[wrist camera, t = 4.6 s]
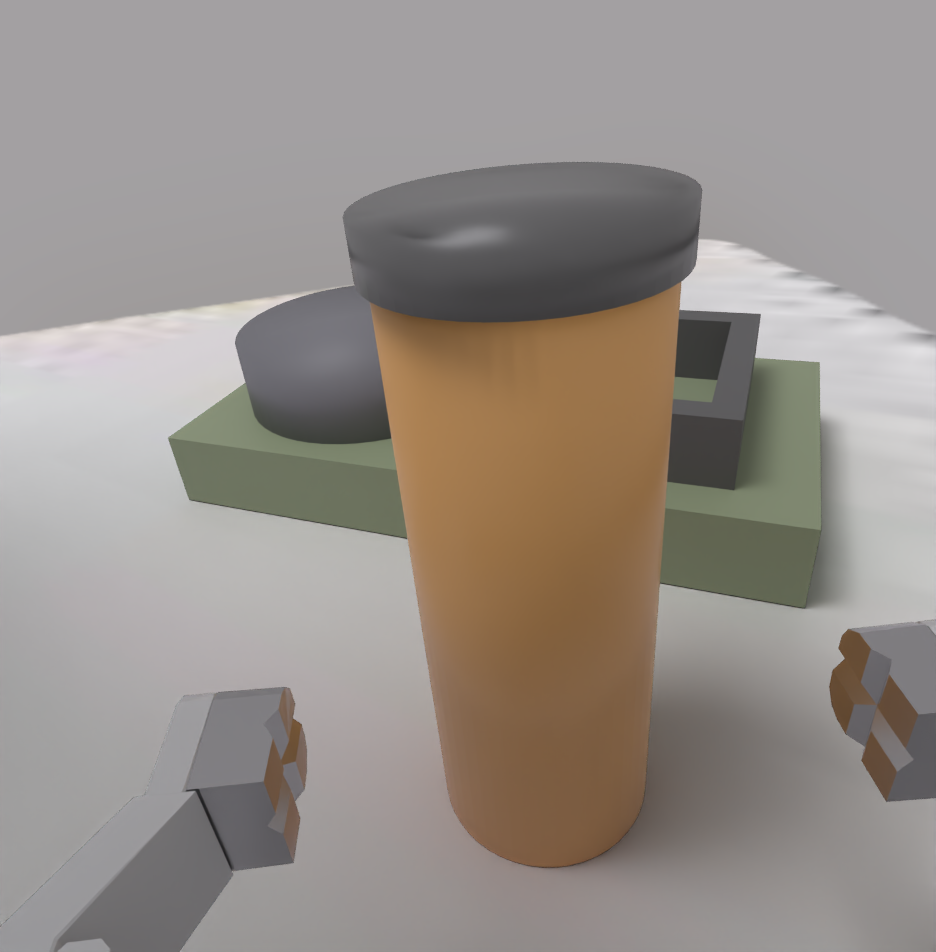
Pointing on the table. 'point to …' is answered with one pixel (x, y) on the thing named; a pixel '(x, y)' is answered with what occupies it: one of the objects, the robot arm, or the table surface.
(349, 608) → the table surface
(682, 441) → the green slab
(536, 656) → the orange pill bottle
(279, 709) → the robot arm
